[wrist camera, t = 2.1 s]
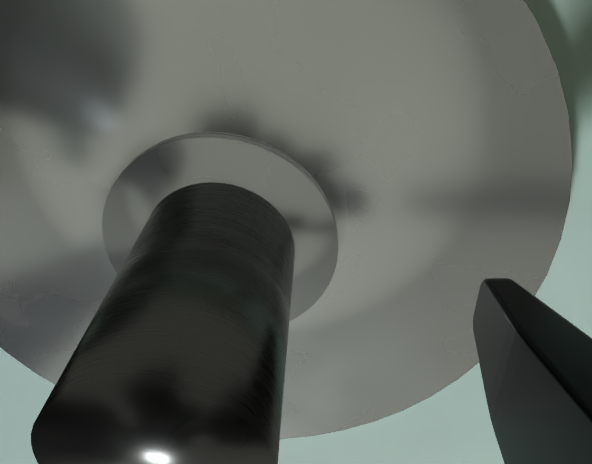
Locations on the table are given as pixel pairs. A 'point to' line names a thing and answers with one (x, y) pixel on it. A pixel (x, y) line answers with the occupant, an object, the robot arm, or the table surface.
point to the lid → (263, 211)
